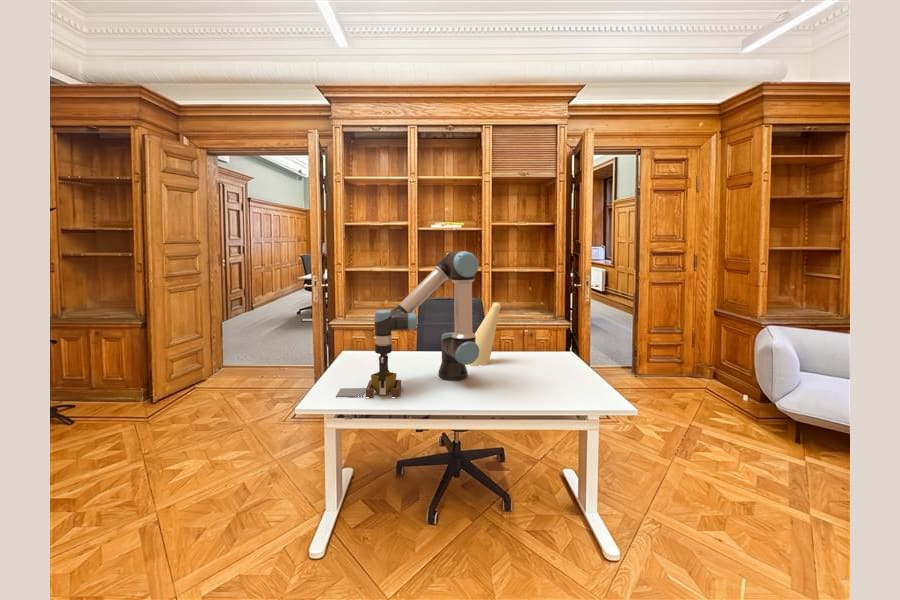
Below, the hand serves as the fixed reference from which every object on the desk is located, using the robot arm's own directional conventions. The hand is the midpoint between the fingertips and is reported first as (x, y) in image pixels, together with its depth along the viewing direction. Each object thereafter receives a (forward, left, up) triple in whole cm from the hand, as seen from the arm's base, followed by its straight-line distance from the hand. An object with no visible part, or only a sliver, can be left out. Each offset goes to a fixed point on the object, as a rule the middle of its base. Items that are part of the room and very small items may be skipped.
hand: (384, 390), depth 231 cm
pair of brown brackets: (0, 0, -1) cm, 1 cm away
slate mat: (+15, 0, -1) cm, 15 cm away
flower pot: (0, 0, -1) cm, 1 cm away
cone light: (-49, -55, -1) cm, 74 cm away
